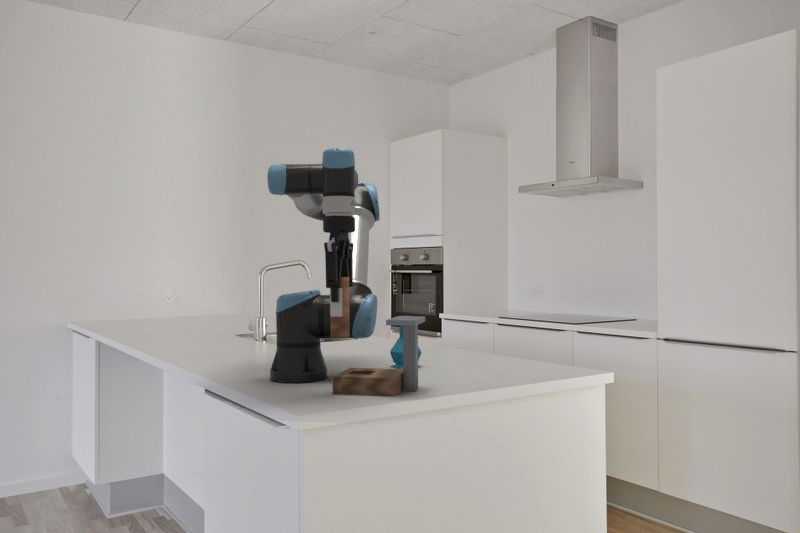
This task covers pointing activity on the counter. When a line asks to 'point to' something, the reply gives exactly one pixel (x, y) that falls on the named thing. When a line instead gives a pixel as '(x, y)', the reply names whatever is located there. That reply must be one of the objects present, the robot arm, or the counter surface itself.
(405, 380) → the grey t-shaped block
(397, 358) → the perfume bottle
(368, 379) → the socket board
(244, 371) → the counter surface
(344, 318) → the peg
